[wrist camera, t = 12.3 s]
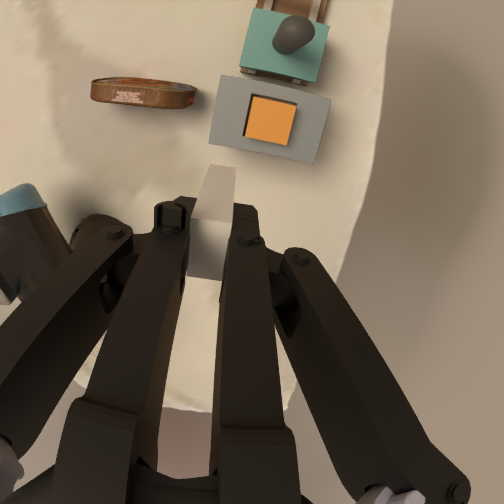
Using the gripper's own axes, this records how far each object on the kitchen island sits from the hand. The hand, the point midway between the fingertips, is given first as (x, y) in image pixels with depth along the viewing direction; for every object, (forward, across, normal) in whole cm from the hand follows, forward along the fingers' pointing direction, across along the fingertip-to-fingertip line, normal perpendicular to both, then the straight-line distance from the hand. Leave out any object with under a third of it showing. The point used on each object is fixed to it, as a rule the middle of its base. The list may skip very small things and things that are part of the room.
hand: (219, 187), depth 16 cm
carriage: (+22, +4, +12) cm, 26 cm away
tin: (+26, -13, +4) cm, 29 cm away
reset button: (+17, +4, +3) cm, 17 cm away
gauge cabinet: (+25, +4, +3) cm, 26 cm away
